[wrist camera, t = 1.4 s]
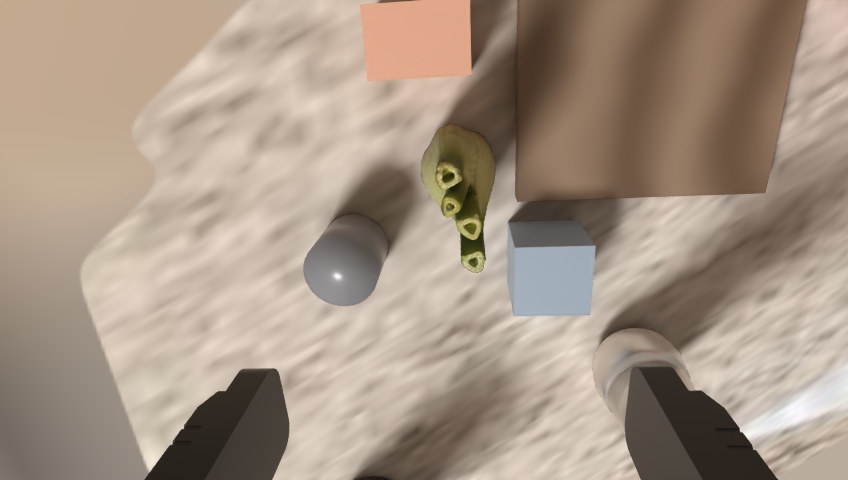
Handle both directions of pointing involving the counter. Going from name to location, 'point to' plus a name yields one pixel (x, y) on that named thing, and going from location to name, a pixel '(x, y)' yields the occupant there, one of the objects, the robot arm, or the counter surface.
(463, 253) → the fennel bulb
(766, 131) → the walnut board
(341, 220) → the grey rounded capsule
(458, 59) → the terracotta block
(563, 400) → the counter surface
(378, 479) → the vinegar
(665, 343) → the plastic bottle
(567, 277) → the smoky blue cube
